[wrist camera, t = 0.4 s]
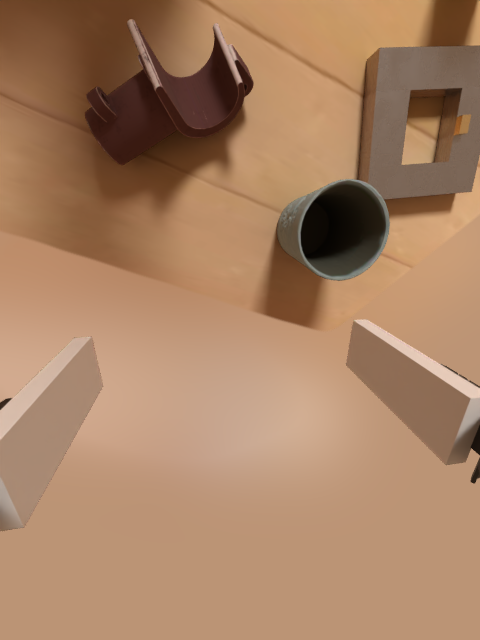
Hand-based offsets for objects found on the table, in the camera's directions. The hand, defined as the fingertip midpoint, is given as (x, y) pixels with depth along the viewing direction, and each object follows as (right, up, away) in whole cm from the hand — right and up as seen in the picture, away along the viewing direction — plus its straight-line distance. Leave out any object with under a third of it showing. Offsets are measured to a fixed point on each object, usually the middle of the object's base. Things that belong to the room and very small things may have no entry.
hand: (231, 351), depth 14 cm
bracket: (-7, +27, +18) cm, 33 cm away
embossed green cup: (+10, +15, +25) cm, 31 cm away
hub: (+25, +27, +23) cm, 43 cm away
